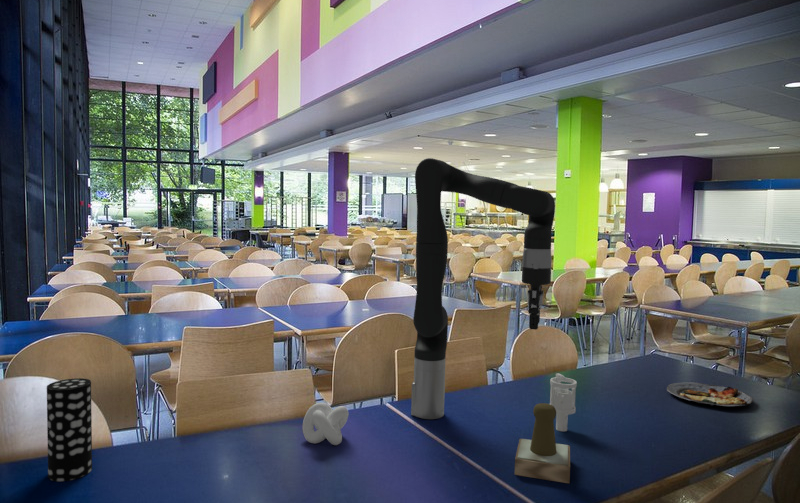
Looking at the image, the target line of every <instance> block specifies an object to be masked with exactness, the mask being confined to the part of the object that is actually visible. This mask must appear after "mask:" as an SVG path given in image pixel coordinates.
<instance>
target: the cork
mask: <svg viewBox="0 0 800 503" xmlns="http://www.w3.org/2000/svg"><path fill="white" fill-rule="evenodd" d="M532 413H533V416H534V418H535V419H534V425H533V430H532V436H531V440H532V441H531V447H530V450H531V451H532V452H533V453H535V454H537V455H541V456H553V455H555V454H556V444H557V442H556V433H555V422H554V420H556V409H555V408H554V406H552V405H550V403H546V402H545V403H543V402H539V403H537V404H535V405H534V407H533V412H532Z"/></svg>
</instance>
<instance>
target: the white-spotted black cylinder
mask: <svg viewBox="0 0 800 503" xmlns="http://www.w3.org/2000/svg"><path fill="white" fill-rule="evenodd" d="M46 418H47V419H46V424H47V427H46V428H47V430H46V431H47V436H46V437H47V478H48V479H49V480H50V481H53V482H68V481H73V480H77V479H79V478H83V477H84V476H86V475H88V474H89V473H90V472H92V470H93V440H92V439H93V437H92V436H93V435H92V432H93V430H92V423H93V422H92V381H91V380H90V379H88V378H80V377H79V378H66V379H62V380H56V381H53V382H51V383H48V384H47V386H46Z"/></svg>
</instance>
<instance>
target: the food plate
mask: <svg viewBox="0 0 800 503" xmlns="http://www.w3.org/2000/svg"><path fill="white" fill-rule="evenodd" d="M666 391H667V392H669V393H670V394H672V395H674V396H676V397H678V398H679V399H681V400H683V399H684V400H686V401H689V402H696V403H698V404H704V405H705V404H706V405H710V406H714V405H715V406H719V407H721V406H722V407H730V408H735V407H746V406H750V405H751V404H752V403H753V402H754V398H753V397H752V396H750V395H749V394H747V393H745V392H743V391H740V390H739V389H737V387H736V388H733V387H732V386H727V387H725V386H722V385H716V384H710V383H702V382H701V383H700V382H696V381H695V382H690V381H687V382H674V383H671V384H668V385H667V387H666Z"/></svg>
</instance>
